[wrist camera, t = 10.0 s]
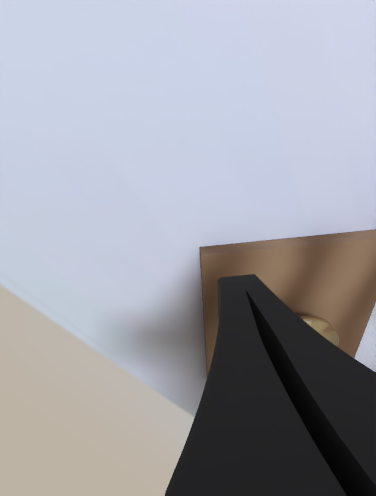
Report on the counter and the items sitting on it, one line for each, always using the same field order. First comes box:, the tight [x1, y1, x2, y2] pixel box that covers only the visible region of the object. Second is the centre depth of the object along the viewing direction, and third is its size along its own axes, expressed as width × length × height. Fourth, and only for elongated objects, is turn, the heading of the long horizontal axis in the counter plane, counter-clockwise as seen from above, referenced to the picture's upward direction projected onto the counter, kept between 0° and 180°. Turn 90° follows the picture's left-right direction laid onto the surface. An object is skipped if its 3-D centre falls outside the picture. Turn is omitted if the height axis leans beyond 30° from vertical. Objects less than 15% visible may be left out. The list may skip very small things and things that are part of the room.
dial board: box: [200, 230, 376, 377], centre depth 23 cm, size 14×16×3 cm
